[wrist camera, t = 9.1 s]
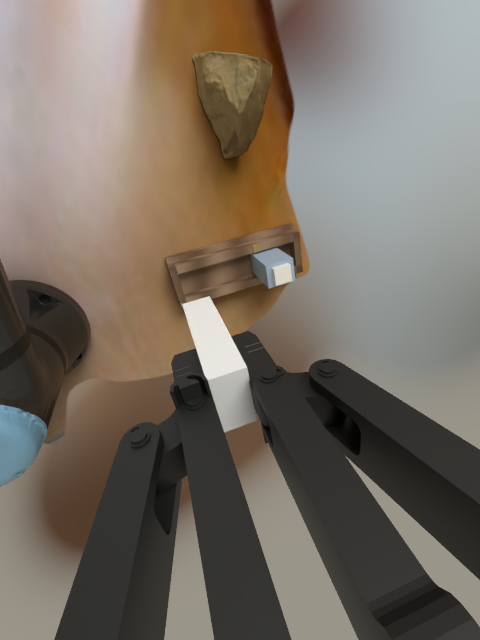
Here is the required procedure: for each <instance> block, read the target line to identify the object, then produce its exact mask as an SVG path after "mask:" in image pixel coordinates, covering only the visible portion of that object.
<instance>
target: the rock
mask: <svg viewBox="0 0 480 640" xmlns="http://www.w3.org/2000/svg"><path fill="white" fill-rule="evenodd" d="M192 59H193V62H194V64H195V67H196V76H197V86H198V91H199V93H198V95H199V97H200V99H201V102H202V105H203V108H204V111H205V113H206V114H207V117H208V119H209V120H210V121H211V124H212V126H213V130H214V132H215V134H216V135H217V136H218V138H219V140H220V143H221V149H222V154H223V156H224V158H225V159H228V158H232V157H237V156H240V155H242V154H243V153H244V152H246V151H247V150H248V148H249V145H250V144H251V142H252V141H253V140H254V138H255V135H256V132H257V129H258V127H259V124H260V121H261V119H262V116H263V112H264V104H265V101H266V97H267V94H268V90H269V86H270V81H271V78H272V64H270V63H269V62H268V61H266V60H265V59H262V58H258V57H253V56H249V55H246V54H238V53H226V52H217V51H208V52H206V53H199V54H194V56H193V57H192Z"/></svg>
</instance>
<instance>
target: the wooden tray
mask: <svg viewBox="0 0 480 640" xmlns="http://www.w3.org/2000/svg"><path fill="white" fill-rule="evenodd" d="M273 247H277V248H278V249H280V250H281V251H283V252H284V253H286V254H288V255H289V256H291V257H292V258H293V263H294V273H295V274H296V273H299V272H303V270H302V259H301V247H300V235H299V232H298V231H296V230H294V225H293V224H291V223H290V224H286V225H283V226H279V227H275V228H272V229H268V230H264V231H261V232H257V233H253V234H250V235H246V236H242V237H239V238H235V239H231V240H228V241H224V242H220V243H217V244H213V245H209V246H206V247H202V248H198V249H195V250H191V251H187V252H184V253H180V254H176V255H173V256H169V257H165V259H166V262H167V265H168V268H169V272H170V275H171V278H172V281H173V284H174V287H175V290H176V293H177V296H178V299H179V302H180V305H181V308H183V305H182V304H184V303H188V302H191V301H194V300H198V299H201V298H205V297H208V296H210V298H211V299H213V298H217V297H220V296H223V295H227V294H230V293H233V292H236V291H240V290H243V289H246V288H250V287H253V286H257V285H261V284H264V283H263V282H262V281H261V280H260V279H259V278H258V277H257V276H256V275H255V274H254V273H253V271H252V265H251V259H250V254H252V253H256V252H260V251H262V250H266V249H269V248H273Z"/></svg>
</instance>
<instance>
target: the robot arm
mask: <svg viewBox="0 0 480 640" xmlns="http://www.w3.org/2000/svg"><path fill="white" fill-rule="evenodd" d="M182 305H183V308H184V312H185V315H186V318H187V321H188V324H189V328H190V331H191V334H192V337H193V341H194V344H195V347H196V349H193V350H190V351H186V352H183V353H180V354H177V355H175V356H174V358H173V360H172V363H171V365H172V370H173V376H174V382H173V384H172V385H171V387H170V394H171V396H172V399H173V401H174V404H175V406H176V410H175V411H174V413H173V414H172V415H171V416H170V417H169V418H168V419H167V420H165V421H164V422H162V423H160V424H159V425H156V424H153V423H150V422H148V423H141V424H138V425H136V426H134V427H132V428H131V429H129V430H128V431H127V433H125V434H124V436H123V437H122V439H121V441H120V444H119V447H118V450H117V453H116V456H115V459H114V462H113V465H112V468H111V471H110V474H109V477H108V480H107V483H106V486H105V489H104V492H103V495H102V498H101V501H100V504H99V507H98V510H97V513H96V516H95V519H94V522H93V525H92V528H91V531H90V534H89V537H88V540H87V543H86V546H85V549H84V552H83V555H82V558H81V561H80V564H79V567H78V570H77V573H76V576H75V579H74V582H73V586H72V588H71V591H70V594H69V597H68V600H67V603H66V606H65V609H64V612H63V615H62V618H61V621H60V624H59V627H58V630H57V633H56V637H55V640H164V635H165V626H166V617H167V608H168V599H169V590H170V581H171V573H172V563H173V554H174V546H175V537H176V528H177V518H178V509H179V501H180V492H181V484H182V483H181V479H182V478H184V477H185V476H186V475H187V476H188V481H189V488H190V494H191V500H192V505H193V512H194V518H195V524H196V531H197V537H198V543H199V548H200V555H201V561H202V567H203V573H204V579H205V585H206V591H207V597H208V604H209V609H210V615H211V622H212V627H213V634H214V640H291V637H290V634H289V631H288V628H287V625H286V622H285V619H284V616H283V612H282V609H281V606H280V603H279V600H278V597H277V594H276V591H275V588H274V585H273V582H272V579H271V575H270V572H269V569H268V566H267V563H266V560H265V557H264V554H263V551H262V548H261V545H260V541H259V538H258V535H257V532H256V529H255V526H254V523H253V520H252V517H251V514H250V511H249V507H248V504H247V501H246V498H245V495H244V492H243V489H242V486H241V483H240V480H239V477H238V474H237V471H236V467H235V464H234V461H233V458H232V455H231V452H230V449H229V446H228V443H227V440H226V436H225V433H224V432H227V431H230V430H232V429H235V428H238V427H240V426H243V425H246V424H249V423H251V422H254V421H257V420H258V416H259V418H260V421H261V425H262V430H263V434H264V439H265V443H269V445H270V448H271V450H272V452H273V454H274V456H275V458H276V461H277V463H278V465H279V467H280V469H281V471H282V474H283V476H284V478H285V480H286V482H287V485H288V487H289V489H290V491H291V493H292V495H293V498H294V500H295V502H296V504H297V506H298V508H299V511H300V513H301V515H302V517H303V519H304V522H305V524H306V526H307V528H308V530H309V532H310V535H311V537H312V539H313V541H314V543H315V546H316V548H317V550H318V552H319V554H320V556H321V559H322V561H323V563H324V565H325V567H326V570H327V572H328V574H329V576H330V578H331V580H332V583H333V585H334V587H335V589H336V591H337V593H338V596H339V598H340V600H341V602H342V604H343V607H344V609H345V611H346V613H347V615H348V617H349V620H350V622H351V624H352V626H353V628H354V630H355V633H356V635H357V637H358V639H359V640H480V627H479V626H478V624H477V623H476V622H475V620H474V619H473V618H472V616H471V615H470V614H469V613H468V611H467V610H466V609H465V608H464V606H463V605H462V604H461V603H460V602H459V601H458V600H457V599H456V598H455V597H454V596H453V595H452V594H451V593H449V592H447V591H445V590H443V589H442V588H440V587H438V586H437V585H436V584H435V583H434V582H433V581H432V579H431V578H430V577H429V575H428V574H427V573H426V571H425V570H424V569H423V567H422V566H421V564H420V563H419V561H418V560H417V559H416V557H415V556H414V554H413V553H412V551H411V550H410V548H409V547H408V546H407V544H406V543H405V541H404V540H403V538H402V537H401V535H400V534H399V533H398V531H397V530H396V528H395V527H394V525H393V524H392V523H391V521H390V520H389V518H388V517H387V515H386V514H385V513H384V511H383V510H382V508H381V507H380V505H379V504H378V502H377V501H376V500H375V498H374V497H373V495H372V494H371V492H370V491H369V490H368V488H367V487H366V485H365V484H364V482H363V481H362V480H361V478H360V477H359V475H358V474H357V472H356V471H355V470H354V468H353V467H352V465H351V464H350V462H349V461H348V459H347V458H346V457H345V455H346V456H347V457H348V458H349V459H350V460H351V461H352V462H353V463H354V464H355V465H356V466H357V467H358V468H360V469H361V470H362V471H363V472H364V473H365V474H366V475H367V476H368V477H369V478H370V479H372V480H373V481H374V482H375V483H376V484H377V485H378V486H379V487H380V488H381V489H382V490H383V491H385V493H387V494H388V495H389V496H390V497H391V498H392V499H393V500H394V501H395V502H396V503H397V504H399V505H400V506H401V507H402V508H403V509H404V510H405V511H406V512H407V513H408V514H409V515H410V516H411V517H412V518H414V519H415V520H416V521H417V522H418V523H419V524H420V525H421V526H422V527H423V528H424V529H425V530H426V531H428V532H429V533H430V534H431V535H432V536H433V537H434V538H435V539H436V540H437V541H438V542H439V543H441V544H442V545H443V546H444V547H445V548H446V549H447V550H448V551H449V552H450V553H451V554H452V555H453V556H455V557H456V558H457V559H458V560H459V561H460V562H461V563H462V564H463V565H464V566H466V568H468V569H469V570H470V571H471V572H472V573H473V574H474V575H475V576H476V577H477V578H478V579H480V450H479V449H478V448H476V447H475V446H473V445H471V444H470V443H468V442H467V441H465V440H463V439H462V438H460V437H459V436H457V435H455V434H454V433H452V432H451V431H449V430H447V429H446V428H444V427H442V426H441V425H439V424H438V423H436V422H435V421H433V420H431V419H430V418H428V417H427V416H425V415H424V414H422V413H420V412H419V411H417V410H416V409H414V408H412V407H411V406H409V405H408V404H406V403H404V402H403V401H401V400H400V399H398V398H396V397H395V396H393V395H392V394H390V393H388V392H387V391H385V390H384V389H382V388H380V387H379V386H377V385H376V384H374V383H372V382H371V381H369V380H367V379H366V378H365V377H363V376H361V375H360V374H358V373H357V372H355V371H353V370H351V369H350V368H348V367H347V366H345V365H344V364H342V363H340V362H338V361H336V360H331V359H324V360H319V361H316V362H315V363H313V364H312V365H311V366H310V369H309V372H303V373H289V372H286V371H285V370H284V369H283V368H282V367H279V366H276V364H275V363H274V362H273V360H272V358H271V357H270V355H269V354H268V353H267V351H266V350H265V348H264V347H263V345H262V343H260V341H259V339H258V338H257V336H256V335H254V334H253V333H251V332H249V331H247V332H244V333H241V334H237V335H234V336H230V334H229V332H228V330H227V328H226V326H225V324H224V322H223V321H222V319H221V317H220V315H219V313H218V311H217V309H216V307H215V305H214V304H213V302H212V300H211V298H210V296H208V297H205V298H201V299H198V300H194V301H191V302H188V303H184V304H182ZM89 339H90V326H89V322H88V319H87V317H86V314H85V313H84V311H83V310H82V308H81V307H80V306H79V304H78V303H77V302H76V301H75V300H74V299H72V298H71V297H70V296H69V295H67V294H66V293H64V292H63V291H61V290H59V289H57V288H55V287H52V286H50V285H47V284H44V283H40V282H35V281H27V280H14V281H9V280H8V277H7V275H6V272H5V270H4V267H3V265H2V262H1V260H0V486H3V485H5V484H7V483H9V482H11V481H13V480H14V479H16V478H17V477H19V476H20V475H21V474H23V473H24V472H25V470H26V469H27V468H28V467H29V466H30V465H31V464H32V463H33V461H34V460H35V458H36V456H37V454H38V452H39V450H40V448H41V446H42V444H43V442H44V441H45V439H46V436H47V432H48V430H47V428H48V425H49V422H50V419H51V416H52V413H53V410H54V407H55V403H56V400H57V397H58V394H59V391H60V388H61V385H62V381H63V378H64V377H65V376H66V375H67V374H68V373H69V372H70V371H72V370H73V369H74V368H75V367H76V366H77V365H78V364H79V362H80V361H81V360H82V358H83V357H84V355H85V353H86V350H87V347H88V343H89ZM257 414H258V416H257Z"/></svg>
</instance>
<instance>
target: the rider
mask: <svg viewBox="0 0 480 640" xmlns="http://www.w3.org/2000/svg"><path fill="white" fill-rule="evenodd" d="M250 259H251V265H252V271H253V273H254V274H255V275H256V276H257V277H258V278H259V279H260V280H261V281H262V282H263V283H264V284H265V285H266V286H267V287H268V288H269V289H270V288H273V287H277V286H280V285H283V284H286V283H290V282H293V281H295V273H294V263H293V258H292V257H291V256H289V255H288V254H286V253H284V252H283V251H281V250H280V249H278V248H277V247H273V248H269V249H266V250H262V251H260V252H256V253H252V254H250Z"/></svg>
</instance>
